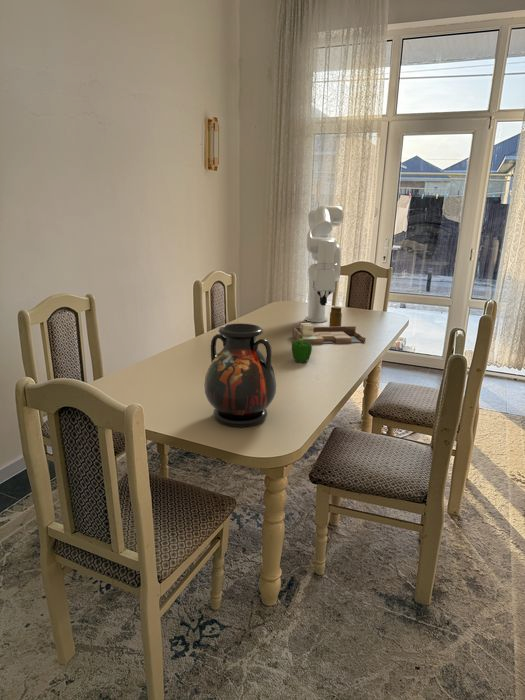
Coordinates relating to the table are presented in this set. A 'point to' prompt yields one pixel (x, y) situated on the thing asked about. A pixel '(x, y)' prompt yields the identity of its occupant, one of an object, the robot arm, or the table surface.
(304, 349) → the bell pepper
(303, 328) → the birch block
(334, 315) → the condiment
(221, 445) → the table surface
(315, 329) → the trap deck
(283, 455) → the table surface
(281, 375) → the table surface
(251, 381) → the amphora vase
